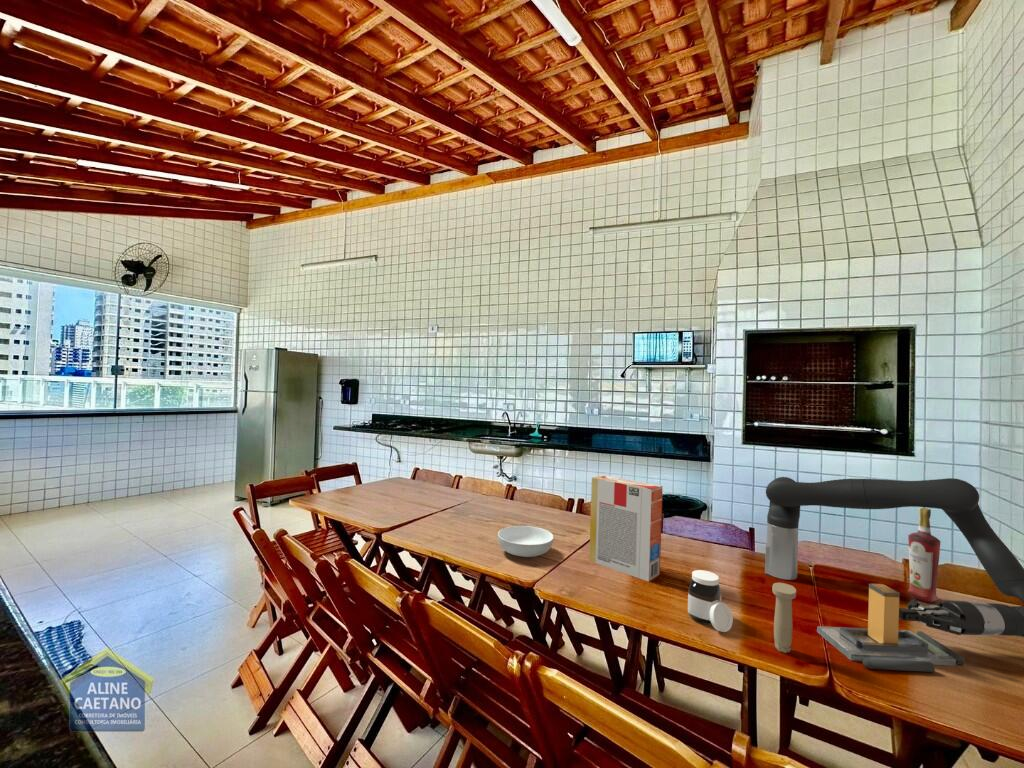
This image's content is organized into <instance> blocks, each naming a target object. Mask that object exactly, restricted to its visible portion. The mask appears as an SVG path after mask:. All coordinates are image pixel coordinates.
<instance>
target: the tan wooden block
mask: <svg viewBox="0 0 1024 768" xmlns="http://www.w3.org/2000/svg"><path fill="white" fill-rule="evenodd" d="M900 595H901V594H900V592H898V591H897V590H895V589H893V588H891V587H889V586H887V585H885V584H884V583H868V616H867V628H868V635H869V636H870V637H871V638H873V639H874V640H876V641H877V642H878V643H889V644H898V630H899V623H900V622H899V620H900V618H899V609H900Z"/></svg>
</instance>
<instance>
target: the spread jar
mask: <svg viewBox="0 0 1024 768" xmlns="http://www.w3.org/2000/svg"><path fill="white" fill-rule="evenodd" d="M691 574H692V575H691V580H690V583H689V586H688V593H687V594H688V595H687V613H688V616H690V617H691V618H692V619H693V620H695V621H697V622H699V623H702V624H706V625H712V627H713V628H714V629H715V630H716V631H718V632H722V633H727V632H729V630H731V628H732V626H733V612H732V610H731V608H730V607H729V606H728V604H726V603H724V602H722V588H721V585H720V577H719V576H718V574H715V573H714V572H712V571H708V570H703V569H697V570H696V569H695V570H694V571H692V572H691Z"/></svg>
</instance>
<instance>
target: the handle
mask: <svg viewBox="0 0 1024 768" xmlns="http://www.w3.org/2000/svg"><path fill="white" fill-rule="evenodd" d="M771 589H772V590H771V591H772V593H773V595H774V596H775V608H774V618H773V619H774V620H773V639H774V647H775V649H776V650H777V651H778V652H782V653H784V654H787V653H790V652H791V650H792V646H791V645H792V643H793V642H792V641H793V627H794V626H793V606H792V605H793V603H792V602H793V600H794V599H796V597H797V589H796V588H795V586H793V585H791V584H788V583H784V582H774V583H773V584H772V588H771Z"/></svg>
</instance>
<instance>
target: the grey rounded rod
mask: <svg viewBox="0 0 1024 768" xmlns="http://www.w3.org/2000/svg"><path fill="white" fill-rule="evenodd" d="M862 665H863V666H864V667H865V668H867V669H869V670H885V671H886V670H887V671H905V672H923V673H924V672H925V673H926V672H927V673H934V672H935V671H936V667H935V665H933V664H932V663H931V662H926V661H906V660H885V659H864V660H863V661H862Z"/></svg>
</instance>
